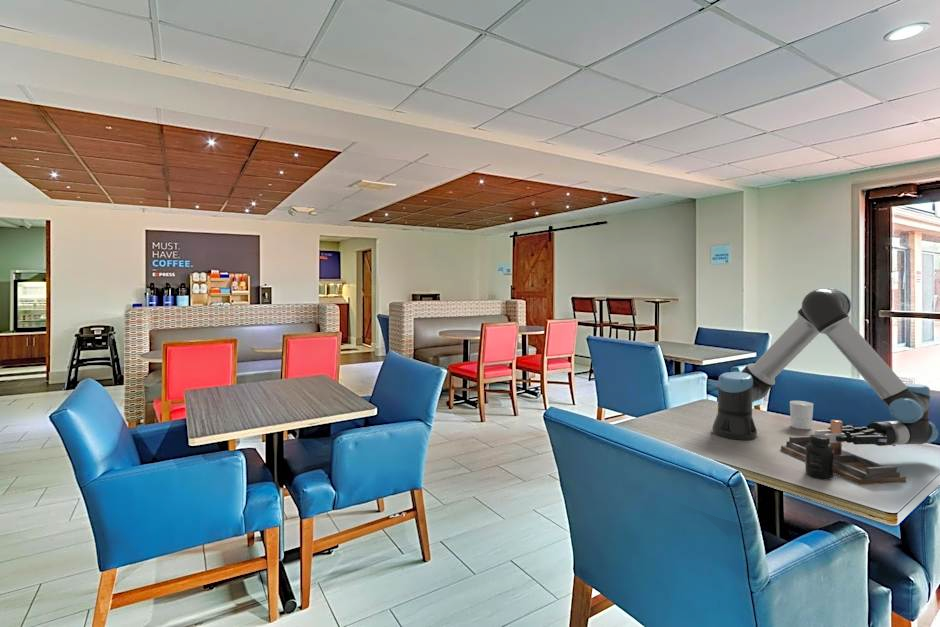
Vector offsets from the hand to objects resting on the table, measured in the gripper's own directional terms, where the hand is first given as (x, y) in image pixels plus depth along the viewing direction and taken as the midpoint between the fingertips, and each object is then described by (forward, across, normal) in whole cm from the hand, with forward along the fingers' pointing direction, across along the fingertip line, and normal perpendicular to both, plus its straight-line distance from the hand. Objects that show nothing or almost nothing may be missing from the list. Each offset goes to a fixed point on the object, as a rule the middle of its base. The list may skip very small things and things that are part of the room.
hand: (820, 436), depth 154 cm
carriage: (-5, 0, -7) cm, 9 cm away
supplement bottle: (+8, -8, -9) cm, 15 cm away
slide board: (-5, -1, -9) cm, 11 cm away
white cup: (-26, +38, -9) cm, 47 cm away
